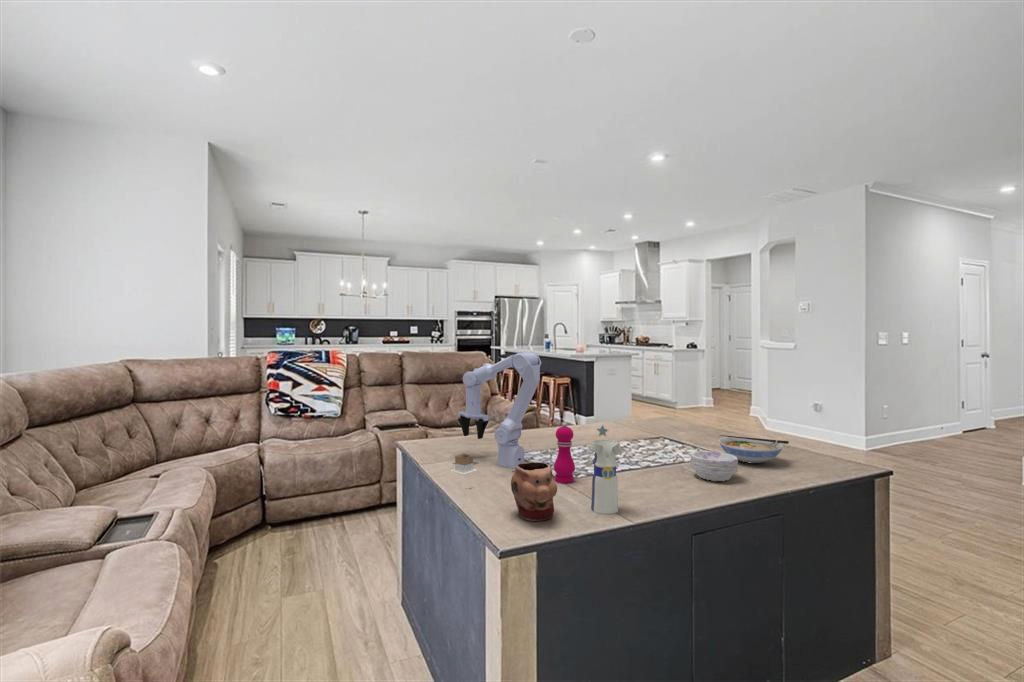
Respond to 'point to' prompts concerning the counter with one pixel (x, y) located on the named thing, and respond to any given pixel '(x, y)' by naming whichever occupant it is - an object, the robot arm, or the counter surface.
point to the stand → (462, 472)
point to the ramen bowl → (751, 448)
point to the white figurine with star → (605, 475)
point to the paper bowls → (714, 465)
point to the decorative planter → (534, 490)
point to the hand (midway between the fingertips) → (473, 437)
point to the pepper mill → (564, 455)
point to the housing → (463, 463)
